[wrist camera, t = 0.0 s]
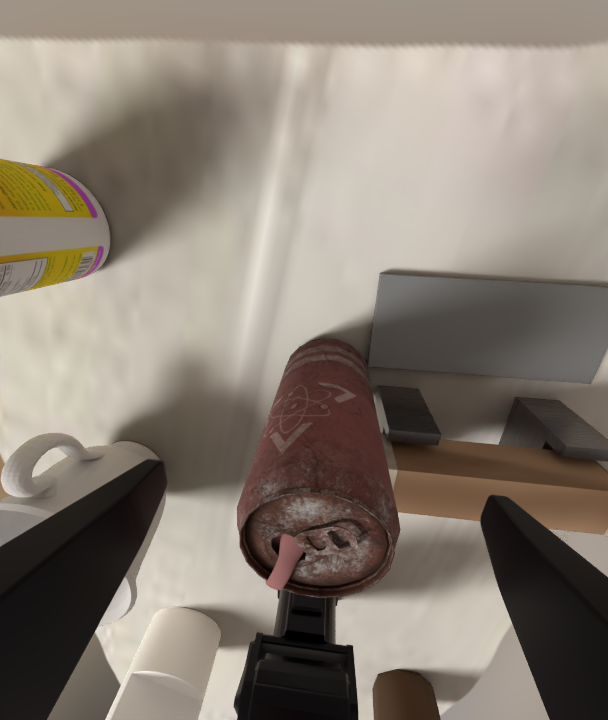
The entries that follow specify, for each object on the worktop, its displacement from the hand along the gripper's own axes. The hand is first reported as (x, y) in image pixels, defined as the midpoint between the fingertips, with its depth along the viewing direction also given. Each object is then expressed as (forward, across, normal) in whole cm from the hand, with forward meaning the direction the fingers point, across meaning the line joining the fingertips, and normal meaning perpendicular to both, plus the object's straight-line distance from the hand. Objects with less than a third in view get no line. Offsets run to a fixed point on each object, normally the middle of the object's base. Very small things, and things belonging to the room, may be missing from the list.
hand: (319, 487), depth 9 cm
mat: (+15, -10, -1) cm, 18 cm away
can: (+15, 0, +4) cm, 15 cm away
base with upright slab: (+15, +15, +41) cm, 46 cm away
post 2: (+15, -16, +7) cm, 23 cm away
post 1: (+15, -6, +7) cm, 17 cm away
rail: (+11, -10, +7) cm, 17 cm away
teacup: (+15, +17, +13) cm, 26 cm away
